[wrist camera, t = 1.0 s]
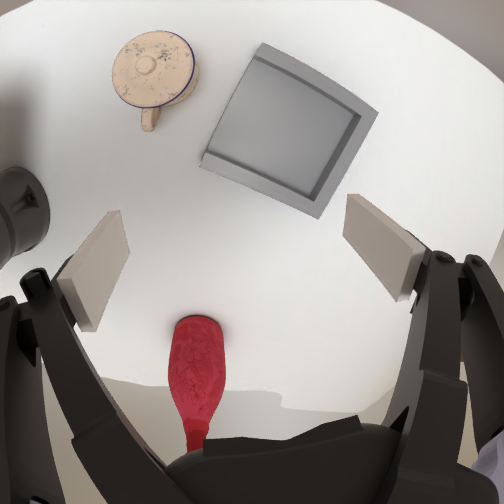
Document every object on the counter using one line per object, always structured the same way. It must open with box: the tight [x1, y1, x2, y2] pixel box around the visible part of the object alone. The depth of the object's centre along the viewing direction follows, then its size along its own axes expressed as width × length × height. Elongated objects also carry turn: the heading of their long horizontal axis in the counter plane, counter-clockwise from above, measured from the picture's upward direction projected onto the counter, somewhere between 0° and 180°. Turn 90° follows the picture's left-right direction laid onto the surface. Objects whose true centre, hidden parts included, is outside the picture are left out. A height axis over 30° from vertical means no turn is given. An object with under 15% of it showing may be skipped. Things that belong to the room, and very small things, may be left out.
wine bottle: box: [168, 316, 226, 454], centre depth 39 cm, size 10×10×30 cm
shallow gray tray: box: [199, 43, 379, 219], centre depth 34 cm, size 18×18×4 cm
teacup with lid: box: [112, 31, 199, 132], centre depth 25 cm, size 12×9×12 cm
